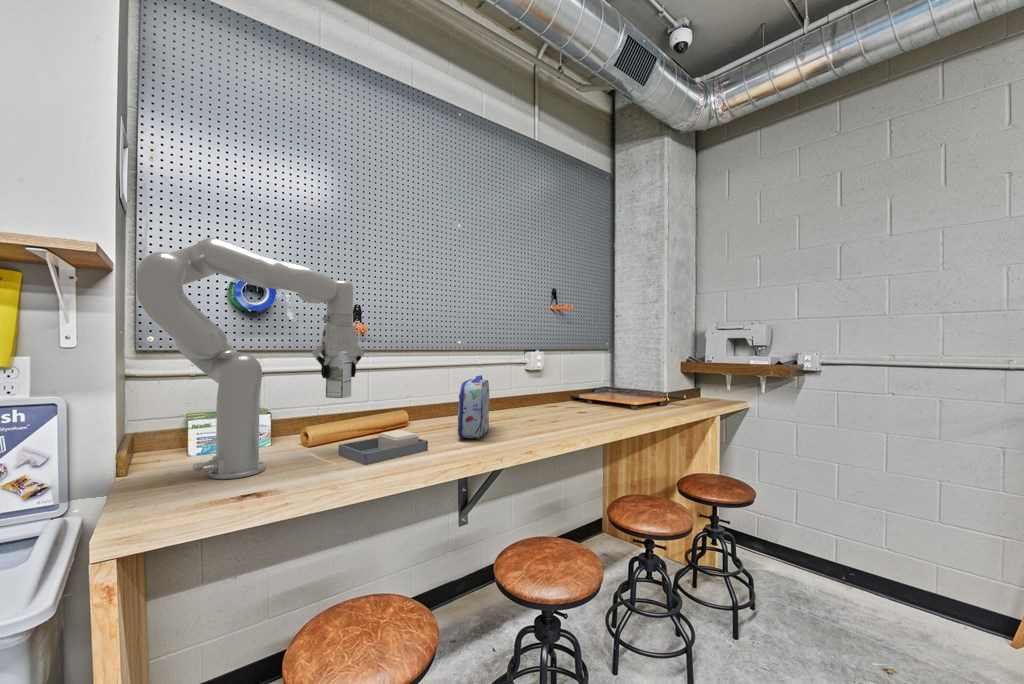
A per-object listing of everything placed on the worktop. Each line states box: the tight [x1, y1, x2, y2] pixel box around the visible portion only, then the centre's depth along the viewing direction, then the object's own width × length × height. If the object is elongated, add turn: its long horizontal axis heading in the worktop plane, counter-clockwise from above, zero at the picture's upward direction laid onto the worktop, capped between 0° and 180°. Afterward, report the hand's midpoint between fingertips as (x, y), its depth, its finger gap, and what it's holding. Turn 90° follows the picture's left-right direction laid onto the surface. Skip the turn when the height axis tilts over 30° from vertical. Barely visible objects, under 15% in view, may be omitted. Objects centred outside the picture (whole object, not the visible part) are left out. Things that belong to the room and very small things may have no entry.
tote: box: [338, 437, 429, 466], centre depth 129 cm, size 21×15×4 cm
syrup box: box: [325, 351, 352, 399], centre depth 131 cm, size 6×6×14 cm
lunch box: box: [457, 374, 490, 439], centre depth 160 cm, size 28×10×22 cm, turn 179°
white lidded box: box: [377, 429, 420, 450], centre depth 133 cm, size 8×10×5 cm
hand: (338, 377), depth 131 cm, fingers closed on syrup box, 7 cm apart
